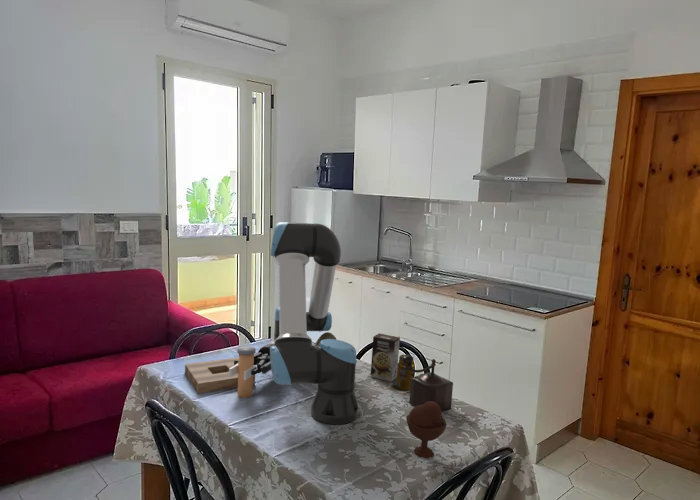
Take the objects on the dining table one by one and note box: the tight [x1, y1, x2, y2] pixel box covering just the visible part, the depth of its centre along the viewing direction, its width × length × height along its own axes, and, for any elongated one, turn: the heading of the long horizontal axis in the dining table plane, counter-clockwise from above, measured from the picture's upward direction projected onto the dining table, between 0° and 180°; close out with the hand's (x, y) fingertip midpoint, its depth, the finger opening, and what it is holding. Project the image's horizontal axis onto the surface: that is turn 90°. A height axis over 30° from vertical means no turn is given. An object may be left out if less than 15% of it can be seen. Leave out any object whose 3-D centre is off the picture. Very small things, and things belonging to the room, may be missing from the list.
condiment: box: [387, 354, 415, 395], centre depth 178 cm, size 7×8×12 cm
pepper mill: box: [402, 354, 454, 413], centre depth 162 cm, size 16×11×18 cm
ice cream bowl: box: [405, 401, 448, 459], centre depth 133 cm, size 11×11×15 cm
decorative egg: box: [314, 331, 338, 346], centre depth 193 cm, size 11×11×15 cm
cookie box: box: [370, 333, 401, 382], centre depth 188 cm, size 9×6×16 cm
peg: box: [236, 345, 257, 399], centre depth 164 cm, size 6×6×16 cm
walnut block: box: [184, 356, 256, 394], centre depth 177 cm, size 20×20×4 cm
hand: (237, 374), depth 159 cm, fingers closed on peg, 5 cm apart
